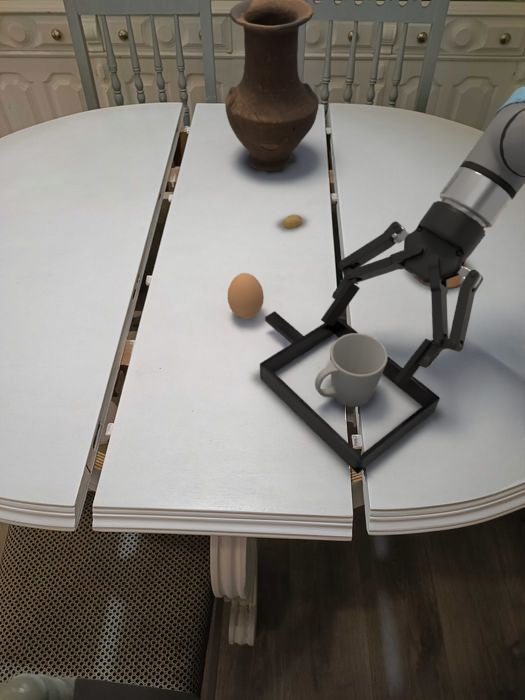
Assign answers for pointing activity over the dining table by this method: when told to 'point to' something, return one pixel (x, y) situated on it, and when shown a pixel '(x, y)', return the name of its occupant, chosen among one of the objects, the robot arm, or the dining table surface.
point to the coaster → (448, 281)
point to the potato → (292, 221)
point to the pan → (311, 418)
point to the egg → (245, 295)
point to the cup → (353, 369)
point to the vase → (271, 83)
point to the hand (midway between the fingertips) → (361, 351)
